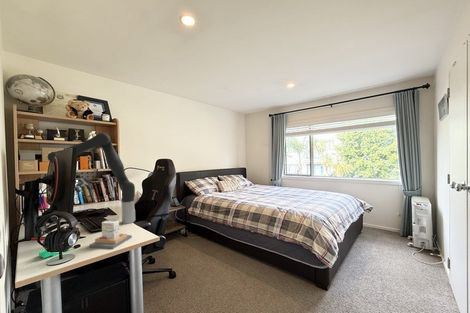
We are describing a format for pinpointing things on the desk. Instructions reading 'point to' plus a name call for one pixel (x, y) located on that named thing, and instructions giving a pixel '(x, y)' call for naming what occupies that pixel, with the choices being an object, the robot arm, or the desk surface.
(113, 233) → the ink cartridge box
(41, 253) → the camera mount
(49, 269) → the desk surface
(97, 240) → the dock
